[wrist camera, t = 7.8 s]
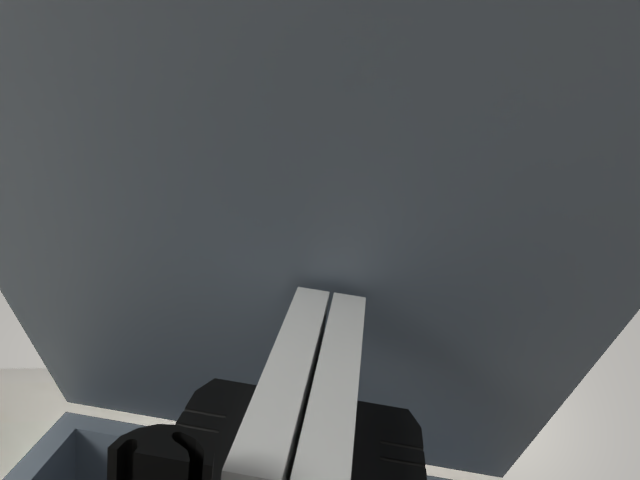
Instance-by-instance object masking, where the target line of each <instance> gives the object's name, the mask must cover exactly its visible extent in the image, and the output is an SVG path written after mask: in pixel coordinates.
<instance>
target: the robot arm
mask: <svg viewBox="0 0 640 480" xmlns="http://www.w3.org/2000/svg"><path fill="white" fill-rule="evenodd" d="M329 293H330V292H328V291H322V290H316V289H309V288H303V287H298V288H297V290H296V293H295V295H294V297H293V300H292V302H291V305H290V307H289V310H288V312H287V314H286V317H285V319H284V322H283V324H282V326H281V329H280V331H279V334H278V336H277V338H276V341H275V343H274V346H273V348H272V351H271V353H270V355H269V358H268V360H267V363H266V365H265V367H264V370H263V372H262V375H261V377H260V379H259V382H258V384H257V385H252V384H246V383H241V382H235V381H229V380H223V379H217V378H214V379H213V380H211V381H209V382H208V383H206V384H205V385H203V386H202V387H200V388H199V389H197V390H196V391H195V392H194V394H193V395H192V397H191V399H190V400H189V402H188V404H187V405H186V407H185V410H184V411H183V412H182V413H181V415H180V417H179V418H178V420H177V422H176V425H166V424H156V425H151V426H145V427H140V428H137V429H135V430H132V431H130V432H128V433H126V434H124V435H121V436H120V437H119V438H118V439H117V440H115V441H114V442H113V443H112V444H111V445H110V446H109V447H108V449H107V480H427V474H426V468H425V456H424V451H423V448H424V446H423V437H422V428H421V426H420V425H419V423H418V422H417V421H416V419H415V418H414V416H413V415H412V414H411V412H410V411H409V409H404V408H398V407H393V406H387V405H381V404H375V403H369V402H363V401H358V400H357V398H358V387H359V375H360V363H361V351H362V339H363V327H364V315H365V303H366V297H360V296H354V295H347V294H341V293H335V292H334V294H333V299H332V303H331V307H330V311H329V316H328V320H327V324H326V328H325V322H326V314H327V307H328V300H329ZM324 329H325V333H324ZM323 336H324V337H323Z"/></svg>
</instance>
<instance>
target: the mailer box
mask: <svg viewBox="0 0 640 480" xmlns="http://www.w3.org/2000/svg"><path fill="white" fill-rule="evenodd" d="M140 427H145V426H143V425H137V424H132V423H126V422H120V421H115V420H109V419H103V418H97V417H92V416H86V415H80V414H75V413H69V412H65V413H64V415H63V416H62V417H61V418H60V419H59V420H58V421H57V422H56V423H55V424H54V425H53V426H52V427H51V428H50V429H49V431H48V432H47V433H46V434H45V435H44V436H43V437H42V438H41V439H40V440H39V441H38V442H37V443H36V444H35V445H34V447H33V448H32V449H31V450H30V451H29V452H28V453H27V454H26V455H25V456H24V457H23V458H22V459H21V460H20V461H19V462H18V464H17V465H16V466H15V467H14V468H13V469H12V470H11V471H10V472H9V473H8V474H7V475H6V476H5V477H4V478H3V480H107V449H108V447H109V446H110V445H111V444H112V443H113V442H114V441H115V440H117V439H118V438H119V437H120V436H121V435H124V434H126V433H128V432H130V431H132V430H135V429H137V428H140ZM427 480H451V479H445V478H440V477H434V476H428V475H427Z"/></svg>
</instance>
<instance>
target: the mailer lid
mask: <svg viewBox="0 0 640 480" xmlns="http://www.w3.org/2000/svg"><path fill="white" fill-rule="evenodd" d="M298 287H303V288H309V289H316V290H322V291H328V292H330V293H329V300H328V307H327V314H326V322H325V328H326V324H327V320H328V316H329V311H330V307H331V303H332V299H333V294H334V292H335V293H341V294H347V295H354V296H360V297H366V303H365V315H364V327H363V339H362V351H361V363H360V375H359V387H358V398H357V400H358V401H363V402H369V403H375V404H381V405H387V406H393V407H398V408H404V409H409V411H410V412H411V414H412V415H413V416H414V418H415V419H416V421H417V422H418V423H419V425H420V426H421V428H422V437H423V446H424V448H423V451H424V456H425V464H427V465H433V466H438V467H444V468H450V469H456V470H461V471H467V472H473V473H479V474H484V475H490V476H496V477H502V478H503V476H504V475H505V474H506V473H507V471H508V470H509V469H510V468H511V466H512V465H513V464H514V463H515V462H516V460H517V459H518V458H519V457H520V455H521V454H522V453H523V452H524V450H525V449H526V448H527V447H528V446H529V444H530V443H531V442H532V441H533V439H534V438H535V437H536V436H537V434H538V433H539V432H540V431H541V430H542V428H543V427H544V426H545V425H546V423H547V422H548V421H549V420H550V419H551V417H552V416H553V415H554V414H555V412H556V411H557V410H558V409H559V407H560V406H561V405H562V404H563V402H564V401H565V400H566V399H567V398H568V396H569V395H570V394H571V393H572V392H573V390H574V389H575V388H576V387H577V385H578V384H579V383H580V382H581V380H582V379H583V378H584V377H585V376H586V374H587V373H588V372H589V371H590V369H591V368H592V367H593V366H594V364H595V363H596V362H597V361H598V360H599V358H600V357H601V356H602V355H603V354H604V352H605V351H606V350H607V348H608V347H609V346H610V345H611V344H612V342H613V341H614V340H615V339H616V338H617V336H618V335H619V334H620V333H621V331H622V330H623V329H624V328H625V326H626V325H627V324H628V323H629V321H630V320H631V319H632V318H633V317H634V315H635V314H636V313H637V312H638V310H639V309H640V0H0V290H1V292H2V293H3V295H4V297H5V299H6V300H7V302H8V304H9V305H10V307H11V309H12V310H13V312H14V314H15V315H16V317H17V318H18V320H19V322H20V324H21V325H22V327H23V329H24V330H25V332H26V334H27V335H28V337H29V338H30V340H31V342H32V344H33V345H34V347H35V349H36V350H37V352H38V354H39V355H40V357H41V359H42V360H43V362H44V364H45V365H46V367H47V369H48V370H49V372H50V374H51V375H52V377H53V379H54V381H55V382H56V384H57V386H58V387H59V389H60V391H61V392H62V394H63V396H64V397H65V399H66V401H67V402H71V403H77V404H83V405H88V406H94V407H100V408H106V409H111V410H117V411H123V412H128V413H134V414H140V415H146V416H151V417H157V418H163V419H169V420H174V421H177V420H178V418H179V417H180V415H181V413H182V412H183V411H184V410H185V407H186V405H187V404H188V402H189V400H190V399H191V397H192V395H193V394H194V392H195V391H196V390H197V389H199V388H200V387H202V386H203V385H205V384H206V383H208V382H209V381H211V380H213V379H214V378H217V379H223V380H229V381H235V382H241V383H246V384H252V385H257V384H258V382H259V379H260V377H261V375H262V372H263V370H264V367H265V365H266V363H267V360H268V358H269V355H270V353H271V351H272V348H273V346H274V343H275V341H276V338H277V336H278V334H279V331H280V329H281V326H282V324H283V322H284V319H285V317H286V314H287V312H288V310H289V307H290V305H291V302H292V300H293V297H294V295H295V293H296V290H297V288H298ZM324 333H325V329H324ZM323 337H324V336H323Z"/></svg>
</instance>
